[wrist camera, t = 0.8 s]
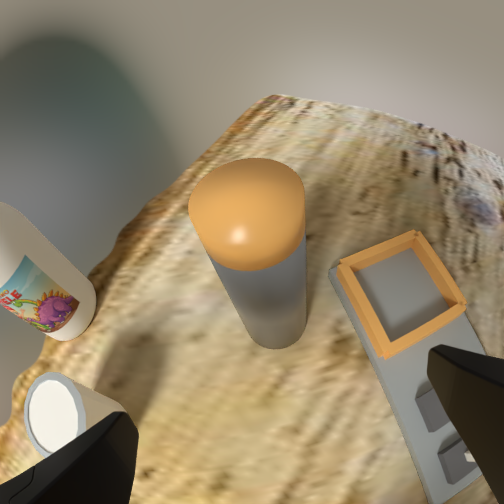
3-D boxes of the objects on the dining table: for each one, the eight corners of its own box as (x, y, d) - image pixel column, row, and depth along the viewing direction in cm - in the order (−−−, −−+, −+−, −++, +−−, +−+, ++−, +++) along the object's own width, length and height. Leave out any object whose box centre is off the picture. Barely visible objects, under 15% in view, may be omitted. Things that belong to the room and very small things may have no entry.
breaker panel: (511, 441, 12) (540, 436, 9) (429, 505, 12) (452, 516, 9) (410, 241, 25) (422, 212, 22) (328, 276, 25) (331, 248, 21)
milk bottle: (53, 285, 29) (-59, 169, 13) (102, 272, 29) (-16, 128, 13) (45, 345, 25) (-97, 238, 9) (96, 339, 25) (-68, 202, 8)
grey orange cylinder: (315, 335, 22) (325, 215, 11) (257, 357, 22) (200, 261, 10) (293, 286, 25) (278, 147, 13) (239, 305, 25) (181, 179, 13)
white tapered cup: (130, 384, 22) (79, 363, 16) (147, 460, 18) (94, 463, 12) (73, 396, 21) (20, 377, 16) (85, 464, 17) (29, 461, 12)
